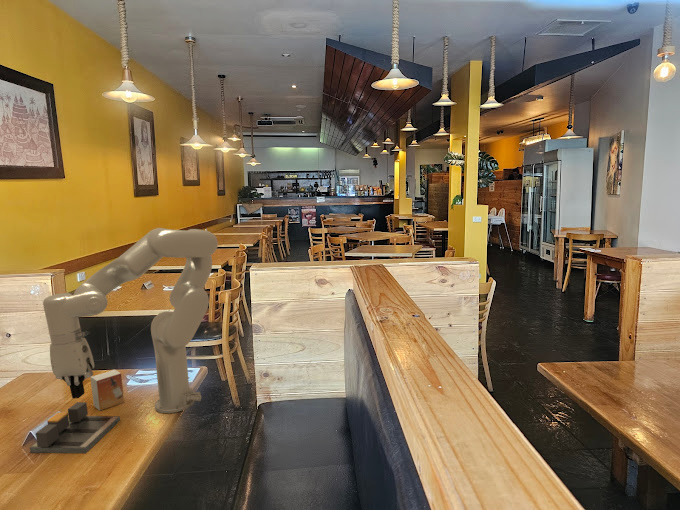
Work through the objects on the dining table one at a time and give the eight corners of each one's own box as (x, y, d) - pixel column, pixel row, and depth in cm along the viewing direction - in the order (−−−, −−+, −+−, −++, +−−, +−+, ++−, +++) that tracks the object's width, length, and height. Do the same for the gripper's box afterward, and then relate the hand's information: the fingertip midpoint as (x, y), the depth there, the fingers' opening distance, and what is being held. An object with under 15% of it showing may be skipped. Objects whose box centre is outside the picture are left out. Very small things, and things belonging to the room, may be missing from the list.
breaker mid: (69, 425, 131) (67, 412, 130) (59, 433, 126) (57, 420, 126) (59, 425, 131) (58, 412, 130) (49, 433, 127) (47, 420, 126)
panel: (120, 420, 137) (119, 415, 136) (85, 453, 120) (85, 447, 120) (71, 420, 138) (70, 415, 137) (30, 452, 121) (29, 447, 121)
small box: (99, 411, 143) (95, 381, 141) (93, 406, 147) (89, 376, 145) (124, 402, 149) (121, 373, 147) (118, 397, 152) (115, 368, 151)
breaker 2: (87, 414, 137) (86, 402, 137) (78, 421, 133) (77, 409, 132) (78, 414, 137) (77, 402, 137) (69, 421, 133) (67, 409, 132)
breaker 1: (59, 437, 124) (57, 424, 124) (47, 446, 120) (46, 433, 119) (49, 437, 125) (47, 424, 124) (37, 446, 120) (35, 433, 120)
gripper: (99, 330, 127) (110, 388, 131) (50, 333, 128) (63, 390, 132) (83, 340, 120) (95, 401, 123) (31, 343, 121) (45, 403, 125)
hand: (78, 396), depth 128 cm, fingers closed
